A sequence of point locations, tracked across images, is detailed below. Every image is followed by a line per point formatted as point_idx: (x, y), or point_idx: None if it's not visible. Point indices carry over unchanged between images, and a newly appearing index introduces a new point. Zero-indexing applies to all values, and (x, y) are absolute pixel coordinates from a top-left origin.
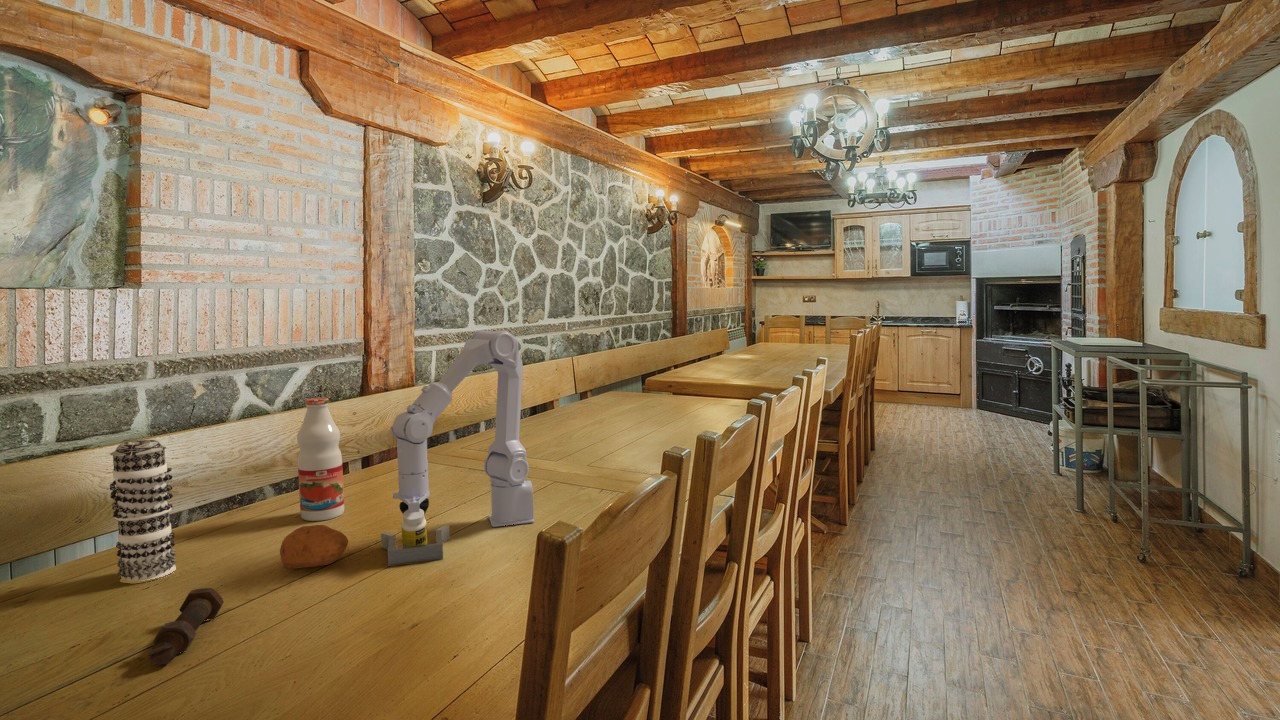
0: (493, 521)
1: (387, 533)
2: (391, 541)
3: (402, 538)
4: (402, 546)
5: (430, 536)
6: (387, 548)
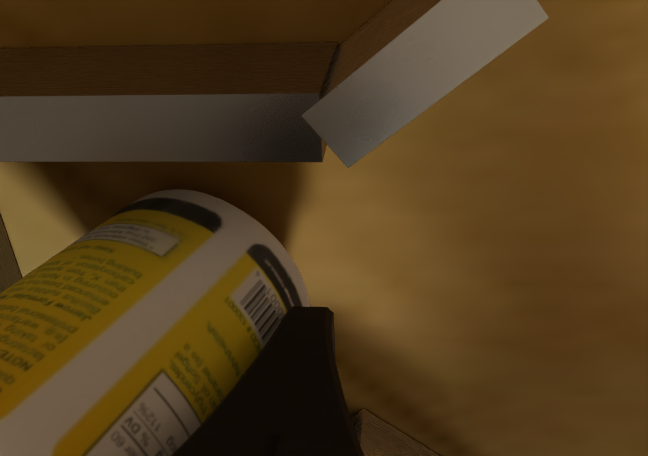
0: None
1: (446, 57)
2: (82, 129)
3: (40, 274)
4: (155, 207)
5: (582, 385)
6: (381, 11)
